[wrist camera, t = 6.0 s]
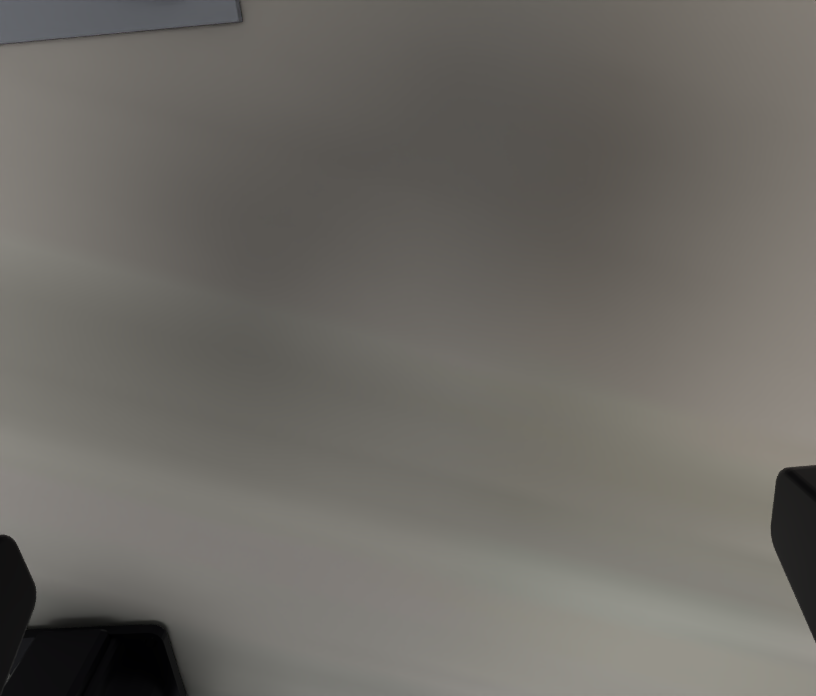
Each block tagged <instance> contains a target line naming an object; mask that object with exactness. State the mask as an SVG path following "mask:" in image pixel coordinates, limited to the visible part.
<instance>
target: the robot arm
mask: <svg viewBox="0 0 816 696" xmlns="http://www.w3.org/2000/svg"><path fill="white" fill-rule="evenodd" d="M771 537H772V542H773V546H774V548H775V551H776V553H777V556H778V558H779V560H780V562H781V565H782V567H783V569H784V572H785V574H786V576H787V578H788V581H789V583H790V585H791V588H792V590H793V592H794V594H795V597H796V599H797V601H798V604H799V606H800V608H801V610H802V613H803V615H804V617H805V620H806V622H807V624H808V626H809V629H810V631H811V633H812V635H813V638H814V640H815V642H816V465H811V466H799V467H788V468H784V469H783V470H781V471H780V472H779V474H778V476H777V479H776V486H775V494H774V502H773V511H772V519H771ZM35 602H36V586H35V583H34V581H33V579H32V576H31V574H30V572H29V570H28V568H27V565H26V563H25V561H24V559H23V557H22V554H21V552H20V550H19V548H18V546H17V544H16V542H15V541H14V540H13V539H12V538H11V537H10V536H7V535H0V696H186V693H185V690H184V687H183V683H182V680H181V677H180V674H179V671H178V667H177V664H176V661H175V658H174V654H173V651H172V648H171V645H170V642H169V638H168V635H167V633H166V631H165V630H164V629H163V628H162V627H160V626H158V625H152V624H149V625H126V626H102V627H79V628H56V629H33V630H26V628H27V626H28V623H29V620H30V618H31V615H32V612H33V610H34V607H35ZM9 674H10V677H9V679H8V680H7V678H8V676H9ZM6 681H7V682H6Z"/></svg>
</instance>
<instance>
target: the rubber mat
mask: <svg viewBox="0 0 816 696" xmlns="http://www.w3.org/2000/svg"><path fill="white" fill-rule="evenodd" d="M233 22H242V16H241V10H240V4H239V0H0V44H8V43H19V42H29V41H40V40H51V39H61V38H72V37H83V36H94V35H104V34H115V33H126V32H136V31H147V30H158V29H169V28H179V27H190V26H201V25H211V24H222V23H233Z"/></svg>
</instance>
